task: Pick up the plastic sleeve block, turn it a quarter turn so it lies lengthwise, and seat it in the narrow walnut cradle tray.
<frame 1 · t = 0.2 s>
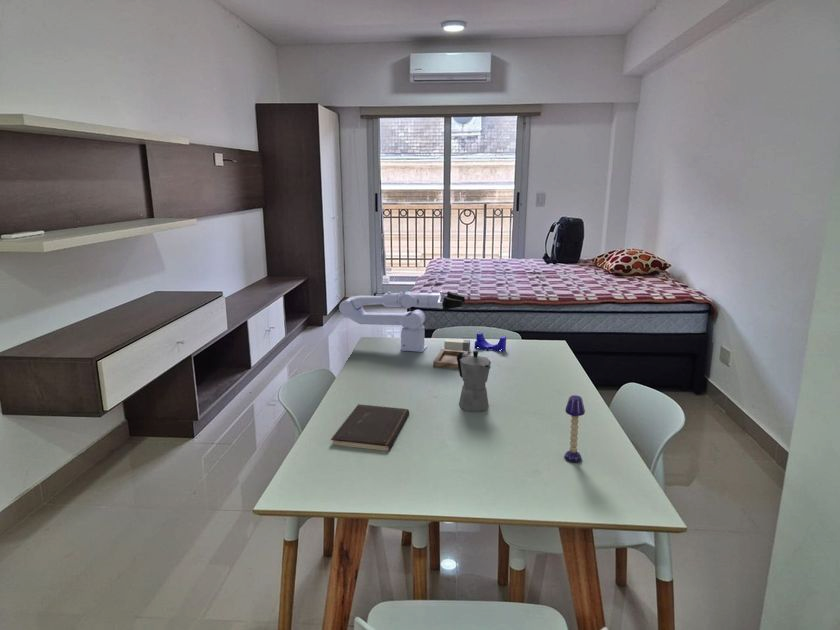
hand: (463, 301, 213), 21 cm above the table, tool horizontal, fingers open, 7 cm apart
toy lamp: (571, 459, 136), on the table
sleeve block: (457, 350, 221), on the table
cable clip: (490, 349, 223), on the table
hardcover book: (372, 431, 152), on the table
coffeepot: (471, 405, 168), on the table
cradle tray: (451, 361, 208), on the table
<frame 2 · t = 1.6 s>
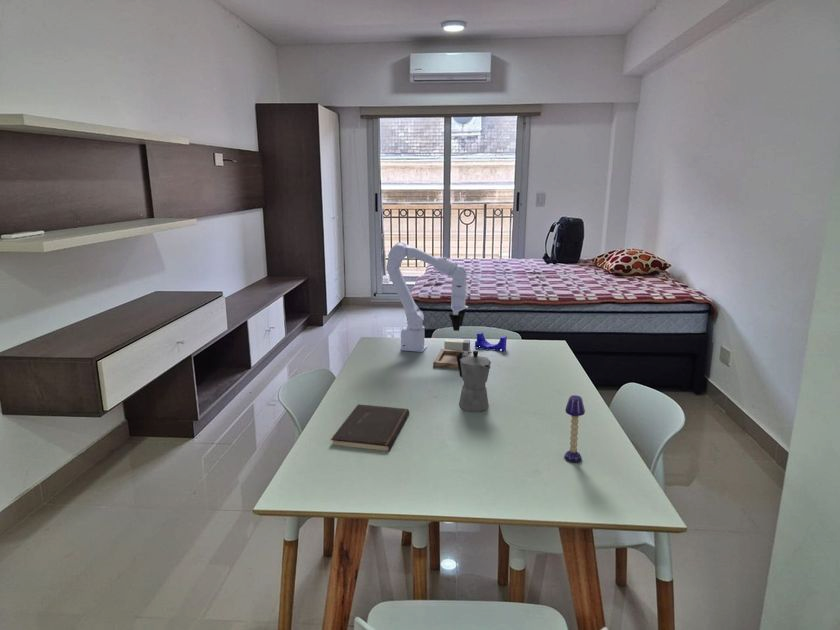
hand: (457, 328, 219), 9 cm above the table, tool pointing down, fingers open, 7 cm apart
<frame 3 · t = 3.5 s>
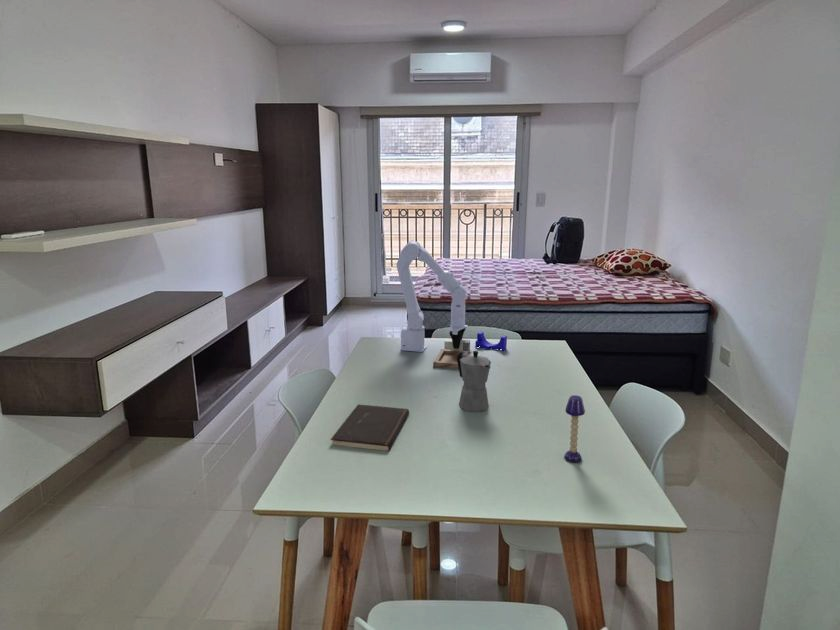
hand: (457, 346, 221), 1 cm above the table, tool pointing down, fingers closed on sleeve block, 4 cm apart
sleeve block: (457, 350, 221), on the table, touching gripper
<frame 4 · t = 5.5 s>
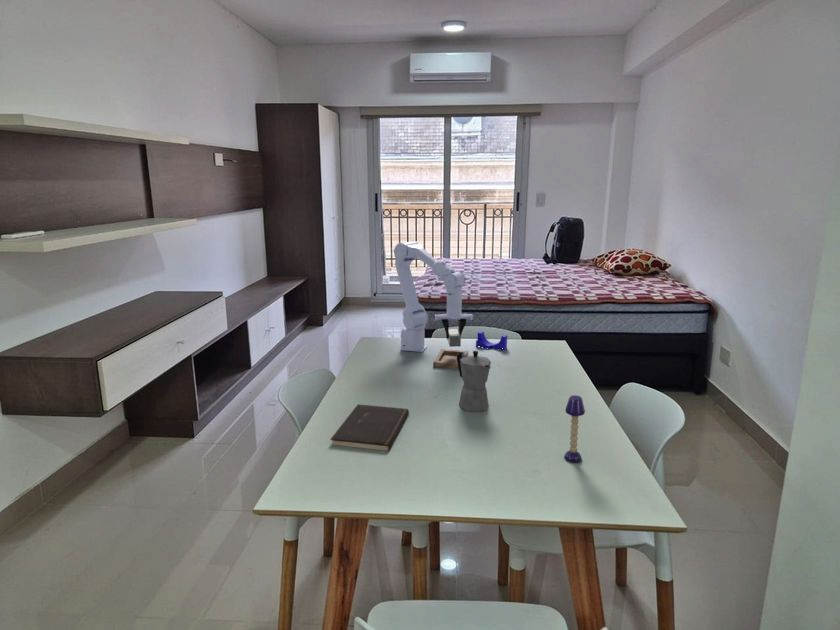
hand: (453, 337, 209), 8 cm above the table, tool pointing down, fingers closed on sleeve block, 4 cm apart
sleeve block: (453, 342, 209), point 7 cm above the table, touching gripper
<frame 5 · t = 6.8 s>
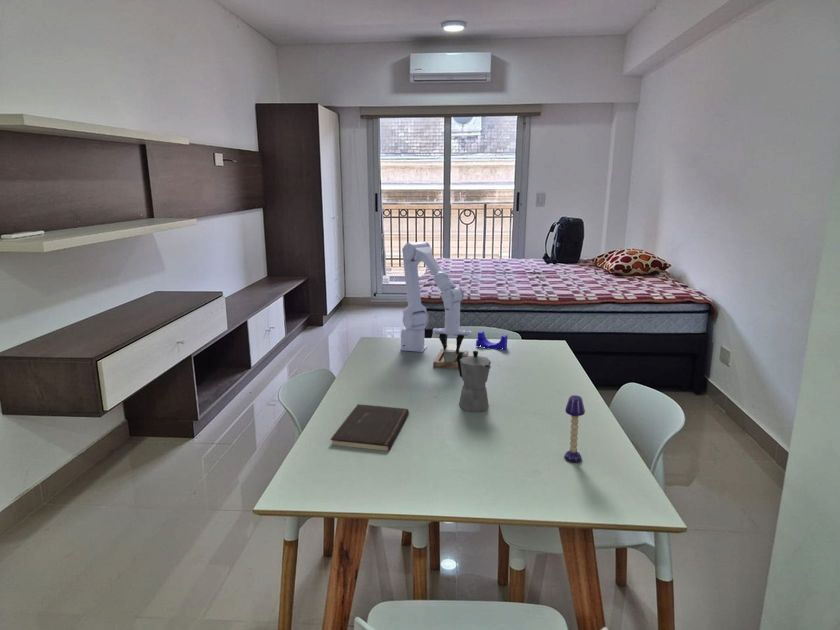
hand: (451, 353, 207), 3 cm above the table, tool pointing down, fingers closed on sleeve block, 4 cm apart
sleeve block: (451, 357, 207), point 2 cm above the table, touching gripper
when the fingers open (3 cm above the table, at t = 7.7 s): sleeve block stays where it is, resting on cradle tray.
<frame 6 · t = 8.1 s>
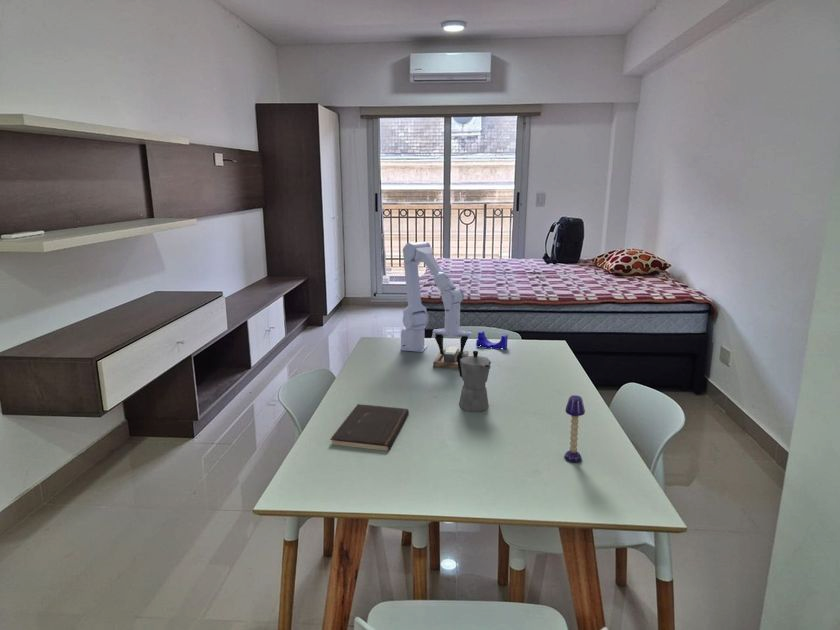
hand: (451, 354, 207), 3 cm above the table, tool pointing down, fingers open, 7 cm apart
sleeve block: (451, 360, 207), point 1 cm above the table, touching cradle tray
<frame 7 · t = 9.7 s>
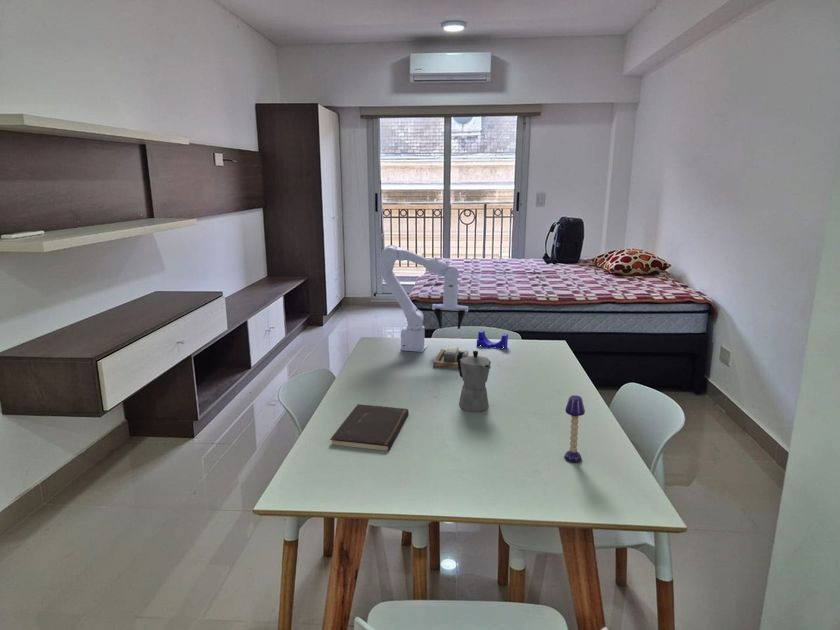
hand: (449, 327, 220), 9 cm above the table, tool pointing down, fingers open, 7 cm apart
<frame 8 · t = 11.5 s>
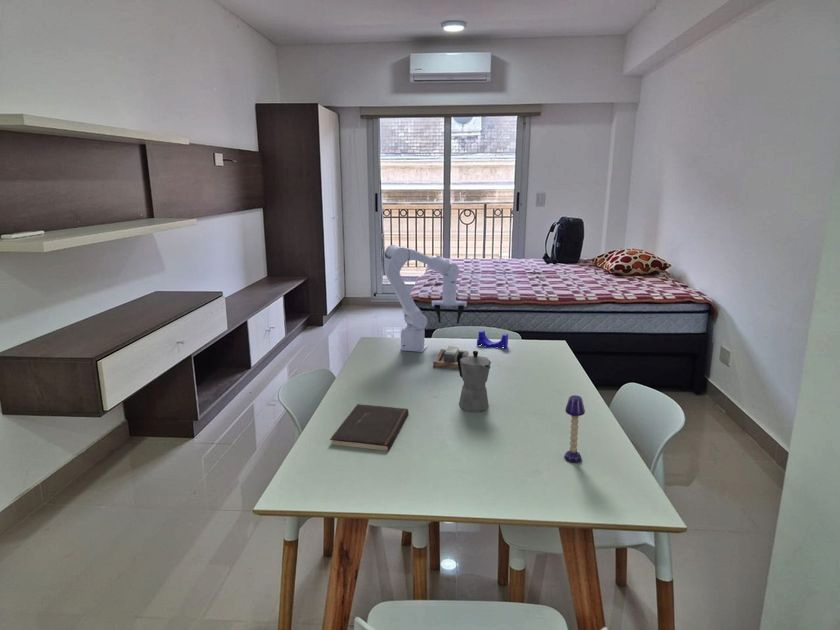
hand: (448, 322, 227), 9 cm above the table, tool pointing down, fingers open, 7 cm apart
at the end: sleeve block 0.3 cm off-centre on the cradle tray, point 0.5 cm above the cradle tray's base; sleeve block tilted 0°; the gripper is holding nothing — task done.
